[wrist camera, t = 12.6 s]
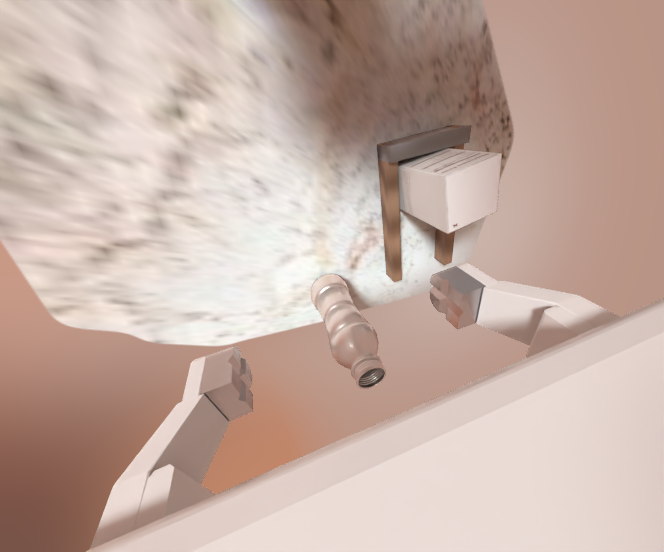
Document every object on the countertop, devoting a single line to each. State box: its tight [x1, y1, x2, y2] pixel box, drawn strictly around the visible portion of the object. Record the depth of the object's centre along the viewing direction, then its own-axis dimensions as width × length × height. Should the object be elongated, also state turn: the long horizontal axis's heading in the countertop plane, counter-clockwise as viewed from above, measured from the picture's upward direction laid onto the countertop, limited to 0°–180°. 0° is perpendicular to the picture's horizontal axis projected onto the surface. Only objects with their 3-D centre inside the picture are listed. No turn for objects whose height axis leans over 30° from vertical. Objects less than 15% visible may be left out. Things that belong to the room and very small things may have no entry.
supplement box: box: [398, 148, 502, 234], centre depth 34 cm, size 7×7×13 cm
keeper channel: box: [377, 126, 471, 282], centre depth 40 cm, size 22×12×4 cm, turn 11°
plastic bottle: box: [311, 274, 386, 389], centre depth 36 cm, size 6×7×20 cm
